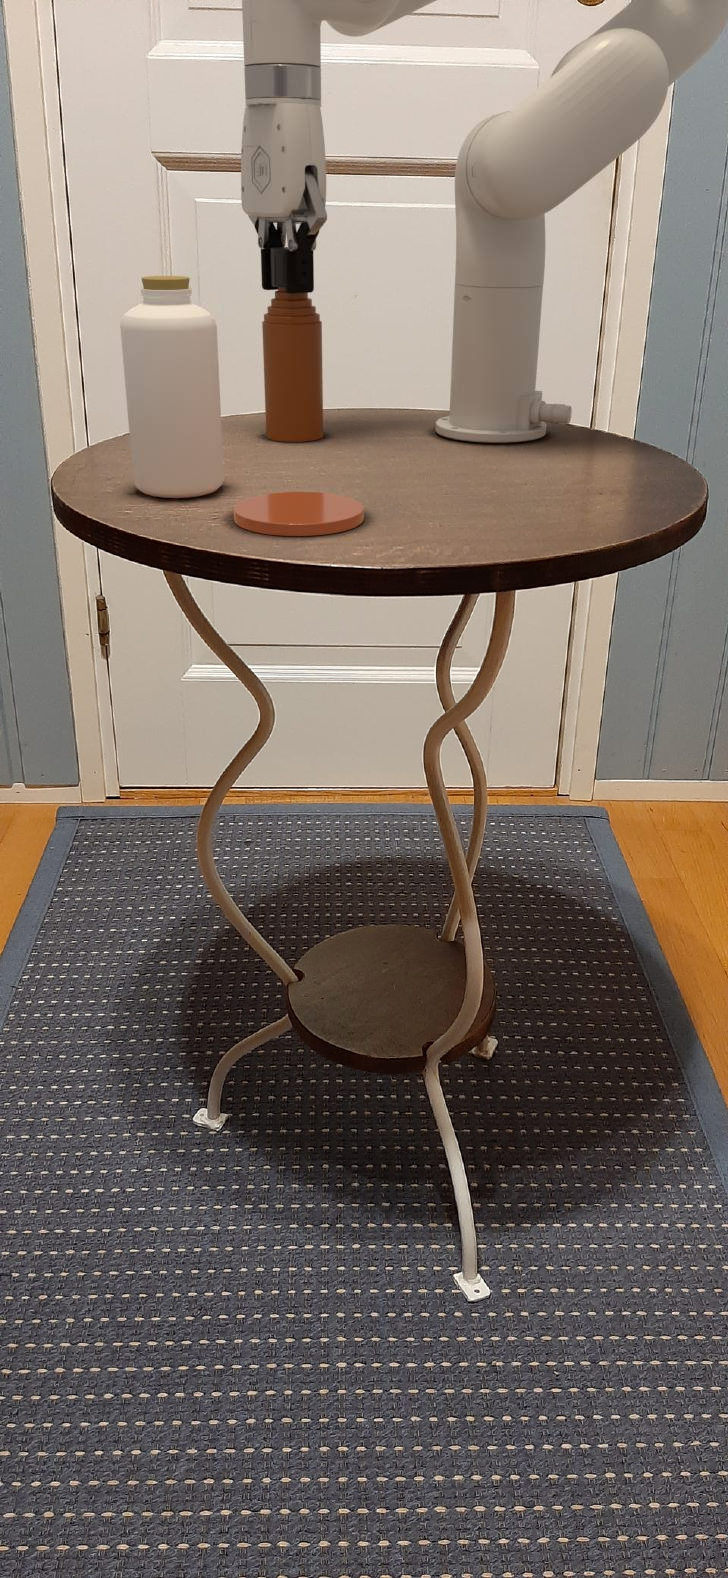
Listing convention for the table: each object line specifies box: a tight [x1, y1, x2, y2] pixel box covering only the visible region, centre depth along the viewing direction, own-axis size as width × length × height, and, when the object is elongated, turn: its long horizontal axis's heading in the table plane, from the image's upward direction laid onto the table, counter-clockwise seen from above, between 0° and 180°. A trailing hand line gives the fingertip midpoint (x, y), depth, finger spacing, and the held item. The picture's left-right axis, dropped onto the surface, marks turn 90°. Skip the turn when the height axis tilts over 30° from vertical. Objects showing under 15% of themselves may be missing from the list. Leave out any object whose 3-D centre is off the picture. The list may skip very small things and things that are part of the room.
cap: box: [270, 246, 290, 287], centre depth 121 cm, size 4×4×4 cm
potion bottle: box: [119, 275, 225, 499], centre depth 102 cm, size 8×8×18 cm
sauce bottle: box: [261, 287, 324, 443], centre depth 125 cm, size 6×6×18 cm
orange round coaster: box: [232, 491, 365, 537], centre depth 97 cm, size 11×11×1 cm
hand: (287, 289), depth 122 cm, fingers closed on cap, 4 cm apart
